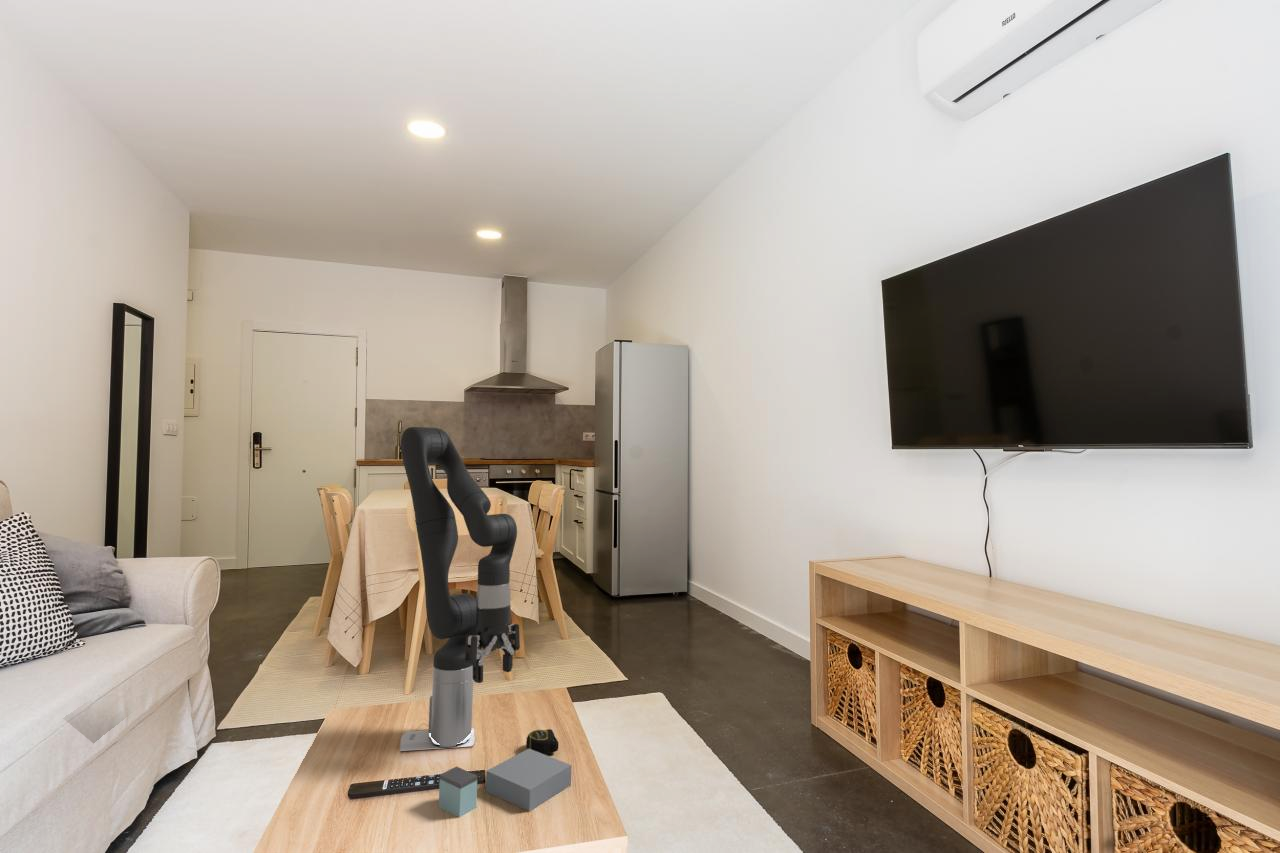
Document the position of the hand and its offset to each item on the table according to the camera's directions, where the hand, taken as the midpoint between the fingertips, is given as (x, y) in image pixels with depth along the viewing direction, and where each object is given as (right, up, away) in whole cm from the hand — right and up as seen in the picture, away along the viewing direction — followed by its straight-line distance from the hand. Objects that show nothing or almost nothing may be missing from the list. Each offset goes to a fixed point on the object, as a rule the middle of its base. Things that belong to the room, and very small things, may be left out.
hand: (493, 676), depth 142 cm
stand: (+11, -17, -14) cm, 24 cm away
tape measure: (+11, -18, +2) cm, 21 cm away
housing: (-2, -16, -22) cm, 27 cm away
